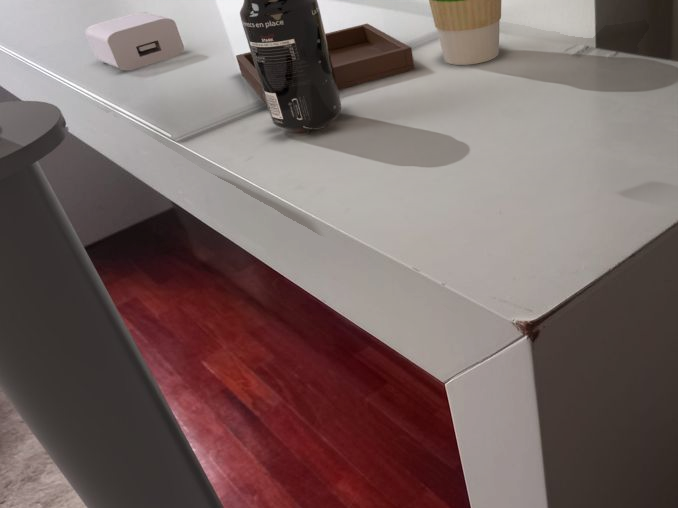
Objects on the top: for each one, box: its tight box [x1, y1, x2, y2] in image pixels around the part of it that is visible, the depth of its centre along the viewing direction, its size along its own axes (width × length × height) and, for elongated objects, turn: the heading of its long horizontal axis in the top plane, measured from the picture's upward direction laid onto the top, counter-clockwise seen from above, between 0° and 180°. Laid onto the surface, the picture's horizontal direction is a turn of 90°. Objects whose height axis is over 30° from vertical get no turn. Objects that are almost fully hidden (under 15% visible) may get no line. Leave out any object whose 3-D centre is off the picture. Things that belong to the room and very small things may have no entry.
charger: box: [84, 11, 185, 71], centre depth 95 cm, size 5×9×15 cm
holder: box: [235, 23, 416, 106], centre depth 78 cm, size 17×15×2 cm
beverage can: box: [239, 0, 343, 134], centre depth 63 cm, size 7×7×12 cm
